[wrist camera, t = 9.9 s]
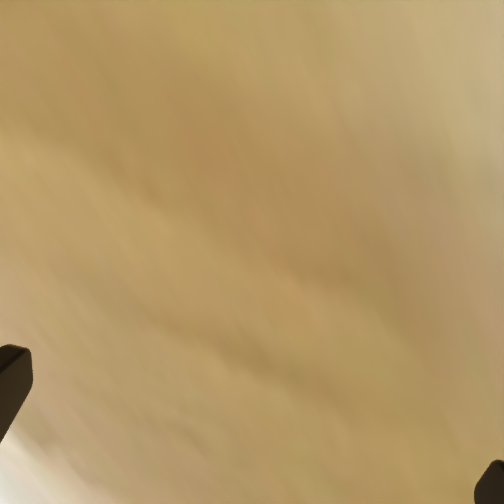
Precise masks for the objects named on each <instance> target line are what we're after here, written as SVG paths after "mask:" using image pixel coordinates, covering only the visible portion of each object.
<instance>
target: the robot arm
mask: <svg viewBox="0 0 504 504" xmlns="http://www.w3.org/2000/svg"><path fill="white" fill-rule="evenodd" d="M32 384H33V370H32V358H31V352H30V350H29V349H27V348H25V347H21V346H16V345H12V344H8V345H4V346H2V347H0V443H1V441H2V440H3V438H4V436H5V434H6V432H7V431H8V429H9V427H10V425H11V424H12V422H13V420H14V418H15V417H16V415H17V413H18V411H19V409H20V408H21V406H22V404H23V402H24V401H25V399H26V397H27V395H28V394H29V392H30V390H31V387H32ZM474 501H475V504H504V461H503V460H494V461H492V463H491V464H490V465H489V467H488V468H487V470H486V471H485V472H484V474H483V475H482V477H481V478H480V480H479V481H478V482H477V484H476V487H475V490H474Z"/></svg>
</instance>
